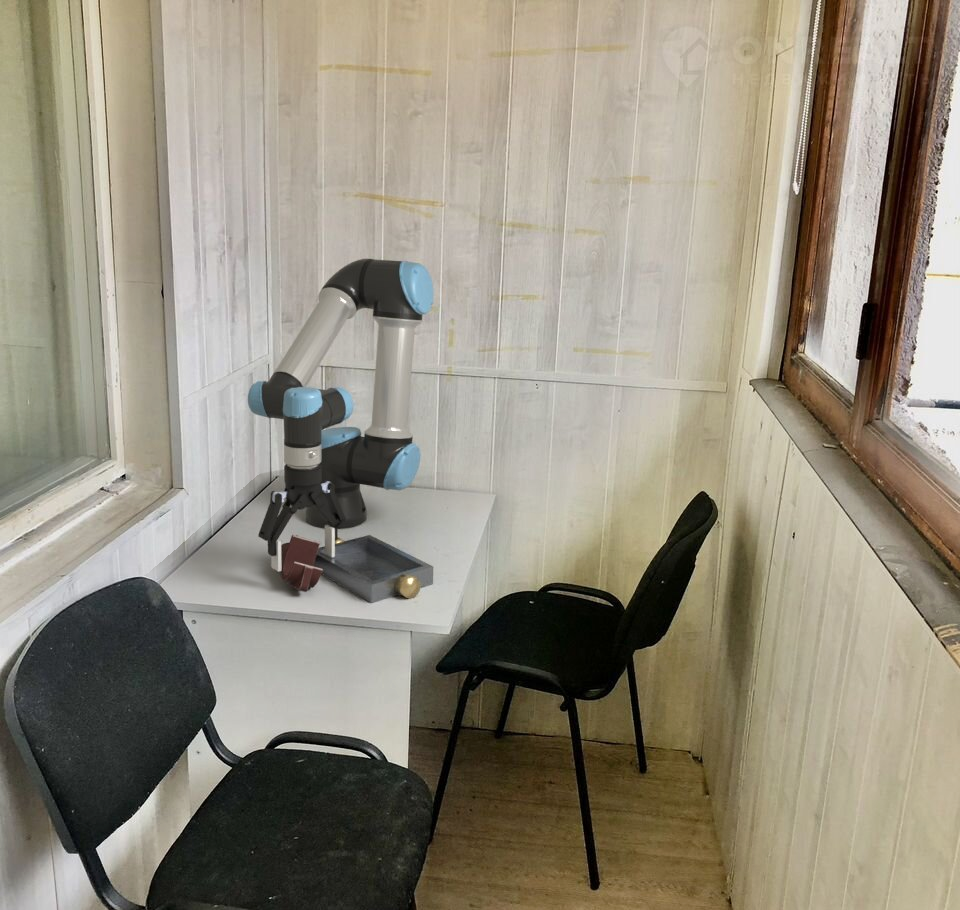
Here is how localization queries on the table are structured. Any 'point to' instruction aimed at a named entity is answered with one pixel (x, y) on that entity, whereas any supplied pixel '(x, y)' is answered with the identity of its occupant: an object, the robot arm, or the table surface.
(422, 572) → the cradle
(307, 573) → the bracket
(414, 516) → the table surface
